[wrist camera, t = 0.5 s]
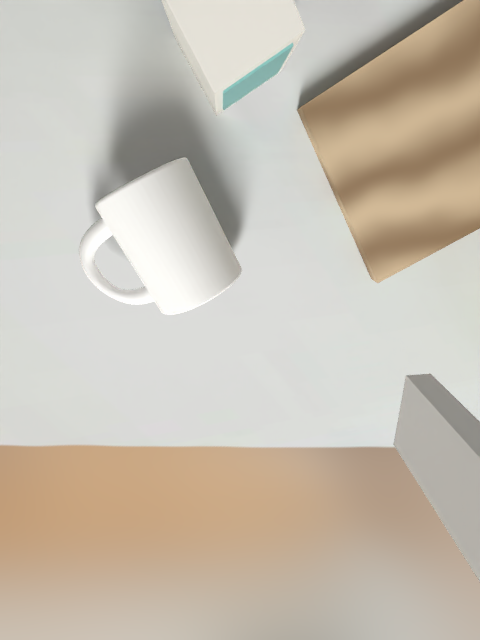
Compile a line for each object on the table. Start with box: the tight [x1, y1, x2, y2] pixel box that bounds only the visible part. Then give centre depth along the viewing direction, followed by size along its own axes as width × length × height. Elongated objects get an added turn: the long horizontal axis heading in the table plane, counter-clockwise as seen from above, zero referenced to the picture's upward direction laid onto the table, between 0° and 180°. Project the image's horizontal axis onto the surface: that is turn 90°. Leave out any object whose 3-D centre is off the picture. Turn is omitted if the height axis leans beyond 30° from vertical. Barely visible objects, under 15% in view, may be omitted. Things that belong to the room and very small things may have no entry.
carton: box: [162, 0, 305, 116], centre depth 23 cm, size 6×6×9 cm
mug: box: [79, 157, 242, 315], centre depth 29 cm, size 12×10×8 cm
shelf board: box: [297, 0, 480, 283], centre depth 28 cm, size 17×18×4 cm
